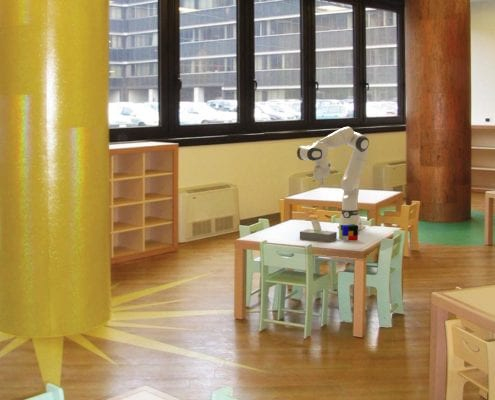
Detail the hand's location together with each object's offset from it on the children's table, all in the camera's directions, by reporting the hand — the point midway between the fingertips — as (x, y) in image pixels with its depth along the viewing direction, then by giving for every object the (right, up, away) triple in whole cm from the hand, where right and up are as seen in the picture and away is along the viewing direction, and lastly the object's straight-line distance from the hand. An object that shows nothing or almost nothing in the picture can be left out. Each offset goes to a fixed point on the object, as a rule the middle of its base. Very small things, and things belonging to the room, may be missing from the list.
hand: (321, 184), depth 582 cm
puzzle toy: (+17, -38, -15) cm, 44 cm away
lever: (-3, -32, -15) cm, 36 cm away
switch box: (-3, -37, -14) cm, 40 cm away
